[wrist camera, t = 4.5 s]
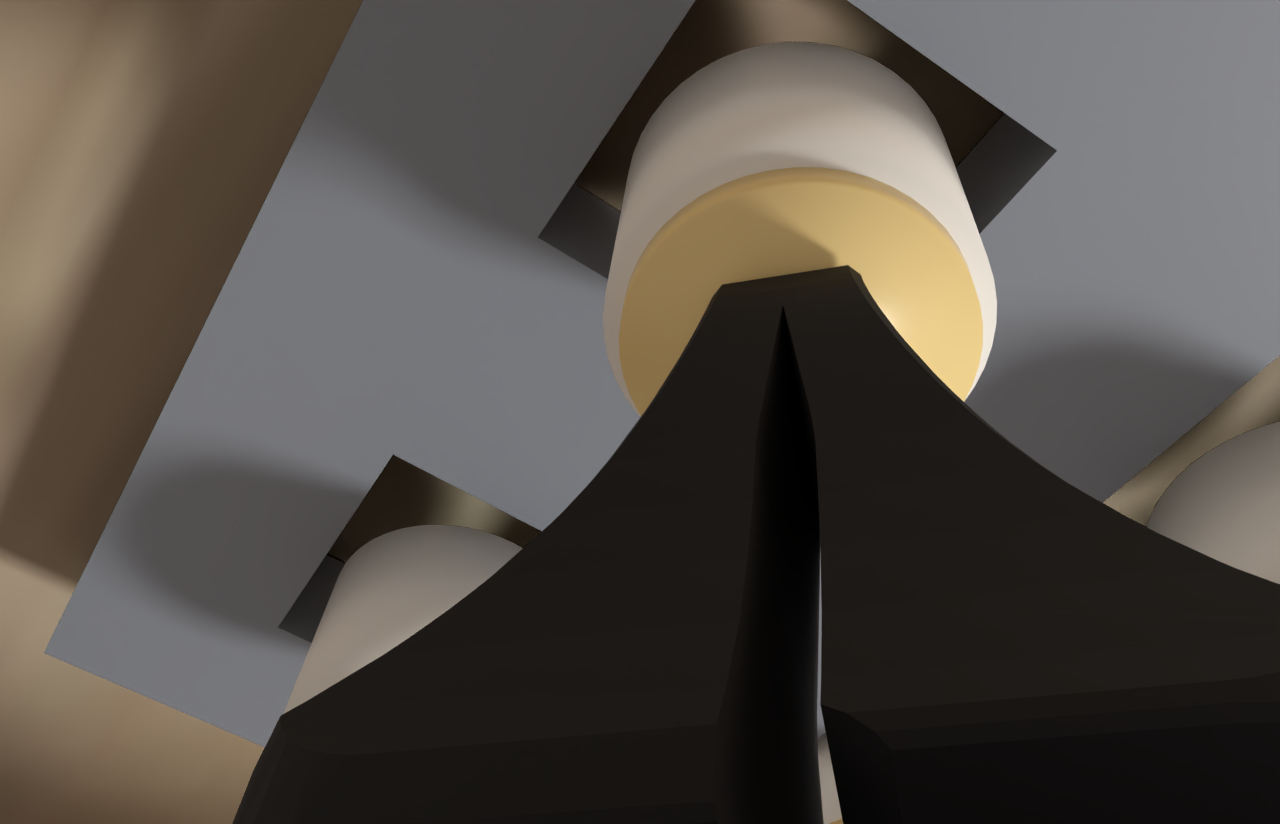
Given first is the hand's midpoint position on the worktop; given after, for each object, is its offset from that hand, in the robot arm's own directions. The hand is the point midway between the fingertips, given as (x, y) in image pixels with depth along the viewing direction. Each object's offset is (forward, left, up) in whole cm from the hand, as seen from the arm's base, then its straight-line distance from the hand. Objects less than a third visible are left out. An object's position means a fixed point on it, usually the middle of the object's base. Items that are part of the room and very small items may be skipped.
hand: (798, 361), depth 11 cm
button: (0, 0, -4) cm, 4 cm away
